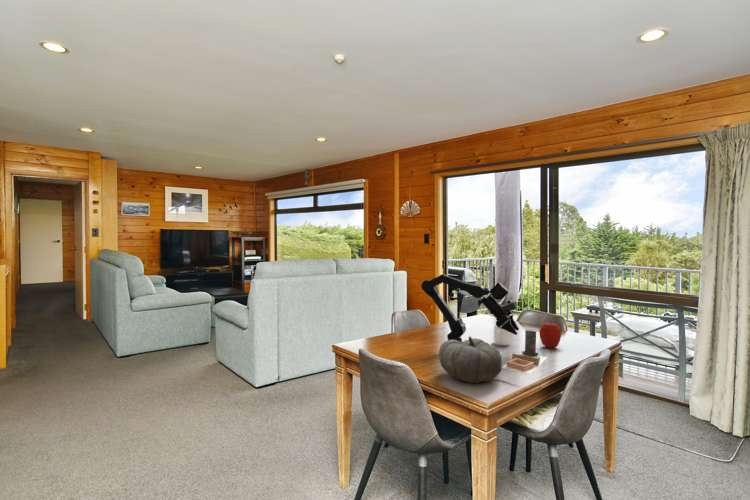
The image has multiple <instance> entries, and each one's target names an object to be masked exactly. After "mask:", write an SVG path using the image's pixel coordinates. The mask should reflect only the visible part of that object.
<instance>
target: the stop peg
mask: <svg viewBox="0 0 750 500" xmlns="http://www.w3.org/2000/svg"><path fill="white" fill-rule="evenodd" d="M524 332H525V334H524V335H525V337H524V339H525V341H524V351H525V355H528V356H535V357H536V352H537V329H533V328H525V330H524Z"/></svg>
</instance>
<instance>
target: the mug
mask: <svg viewBox="0 0 750 500" xmlns="http://www.w3.org/2000/svg"><path fill="white" fill-rule="evenodd" d="M493 327H494V328H493V343H494V344H495V345H499V346H511V343H512V342H511V341H512V340H511V339H512V338H511V337H512V336H511V334H512V333H510V332H508V331H506V330H504V329H501V328H500V327H499V328H498V327H497V325H496V323H495V324H494V325H493Z"/></svg>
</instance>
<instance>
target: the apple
mask: <svg viewBox="0 0 750 500" xmlns="http://www.w3.org/2000/svg"><path fill="white" fill-rule="evenodd" d="M539 339H540V341H541V344H542V345H543V346H544V347H545V348H547V349H555V348H556V347H558V346H559V344H560V341H561V339H562V330H561V327H560V326H559V325H558V324H557V323H554V322H547V323H543V324H542V325H541V327H540V329H539Z"/></svg>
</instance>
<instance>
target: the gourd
mask: <svg viewBox="0 0 750 500" xmlns="http://www.w3.org/2000/svg"><path fill="white" fill-rule="evenodd" d="M438 354H439V355H438V356H439V357H438V358H439V363H440V365H441V367H442V369H443V370H444V371H445V372H446V373H447V374H448V375H450V376H451V377H454V378H455V379H456V380H461V381H463V382H466V383H469V384H470V383H475V384H477V383H481V382H484V383H485V382H490V381H492V380H494V379H496V378H497V377H498V376H499V374H500V372H501V370H502V368H501V367H503V366H502V363H503V362H502V356H501V353H500V351H499V350H498V349H497V348H496V347H494V346H492V345H490V343H488V342H486V341H484V339H483V340H482V339H480V338H475V337H474V338H472V337H471V336H468V339H465V340H464V341H463V340H462V342H460V341H457V340H448V339H447V340H445V341H444V342H443V343H442V344H441V345H440V347H439V351H438Z"/></svg>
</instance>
